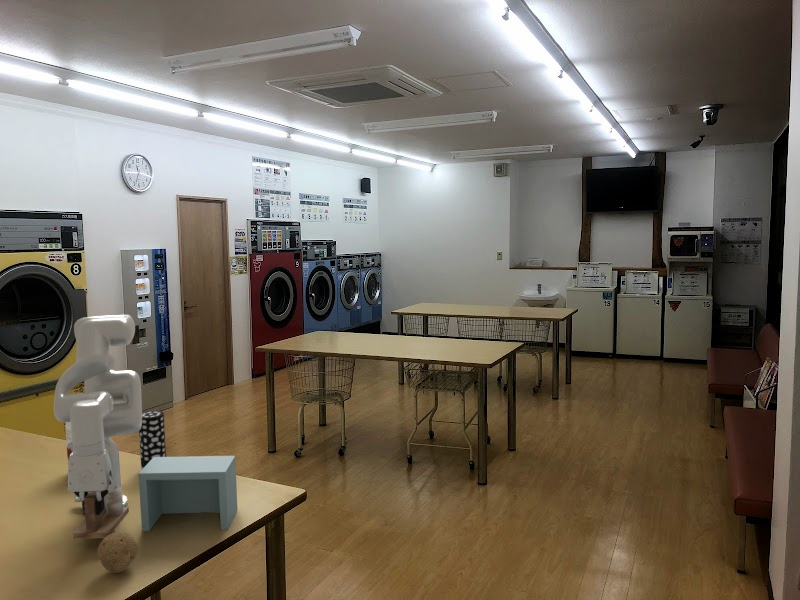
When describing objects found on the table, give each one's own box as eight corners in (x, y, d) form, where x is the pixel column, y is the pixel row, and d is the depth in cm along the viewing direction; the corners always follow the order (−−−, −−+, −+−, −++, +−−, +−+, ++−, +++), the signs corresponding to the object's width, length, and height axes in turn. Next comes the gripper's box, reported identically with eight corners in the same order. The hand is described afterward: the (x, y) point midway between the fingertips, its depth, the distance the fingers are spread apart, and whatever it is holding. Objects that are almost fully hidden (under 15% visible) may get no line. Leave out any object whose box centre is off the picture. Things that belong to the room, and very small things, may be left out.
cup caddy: (73, 538, 165) (70, 499, 163) (96, 512, 179) (94, 475, 177) (107, 538, 165) (105, 499, 164) (128, 511, 179) (126, 475, 177)
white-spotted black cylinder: (158, 475, 215) (154, 418, 212) (136, 473, 216) (132, 417, 214) (171, 465, 223) (168, 411, 220) (150, 464, 224) (147, 410, 222)
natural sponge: (117, 558, 162) (115, 522, 161) (146, 563, 159) (144, 526, 158) (91, 577, 153) (88, 539, 152) (121, 583, 151) (118, 544, 150)
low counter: (141, 531, 176) (138, 473, 174) (156, 511, 188) (153, 457, 186) (227, 529, 177) (225, 471, 175) (237, 509, 189) (235, 455, 187)
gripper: (50, 453, 160) (56, 520, 163) (114, 453, 161) (118, 519, 164) (64, 441, 167) (70, 506, 171) (125, 441, 168) (130, 505, 171)
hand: (93, 512), depth 167 cm, fingers closed on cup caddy, 2 cm apart
